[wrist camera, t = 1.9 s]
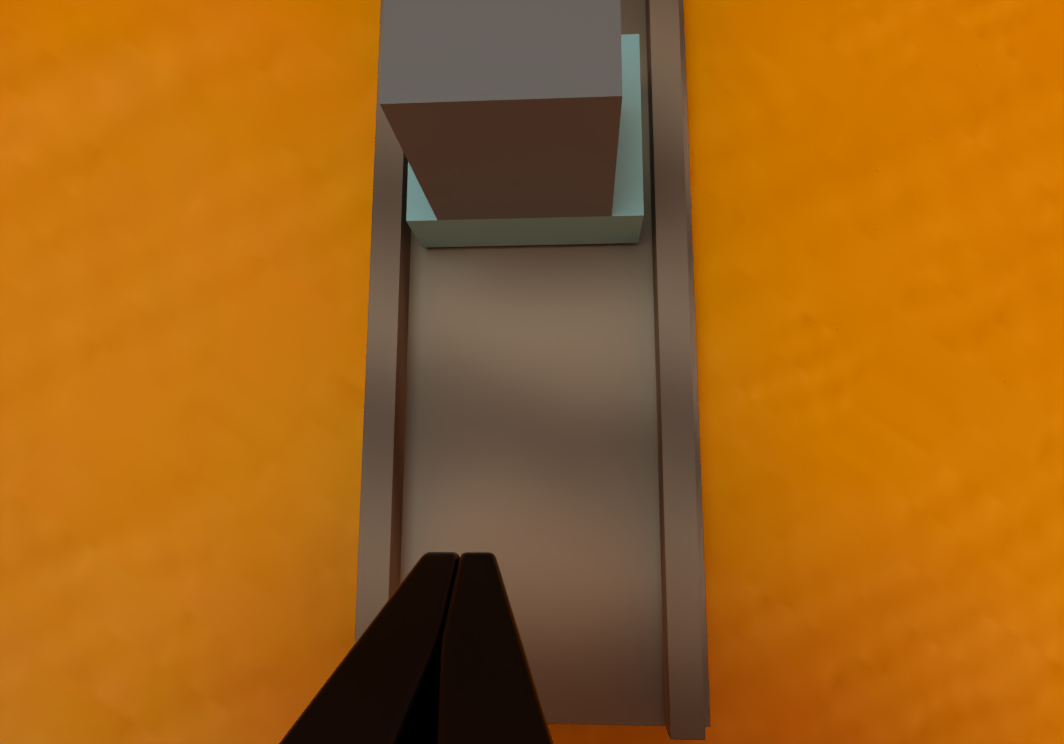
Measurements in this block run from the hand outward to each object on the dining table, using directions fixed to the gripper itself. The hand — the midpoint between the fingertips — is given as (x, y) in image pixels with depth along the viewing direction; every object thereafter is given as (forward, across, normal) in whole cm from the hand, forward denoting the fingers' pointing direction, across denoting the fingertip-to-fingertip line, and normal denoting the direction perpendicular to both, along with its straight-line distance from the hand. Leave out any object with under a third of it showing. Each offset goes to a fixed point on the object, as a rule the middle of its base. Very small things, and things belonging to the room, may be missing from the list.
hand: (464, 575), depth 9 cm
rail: (+14, 0, +4) cm, 15 cm away
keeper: (+15, 0, 0) cm, 15 cm away
